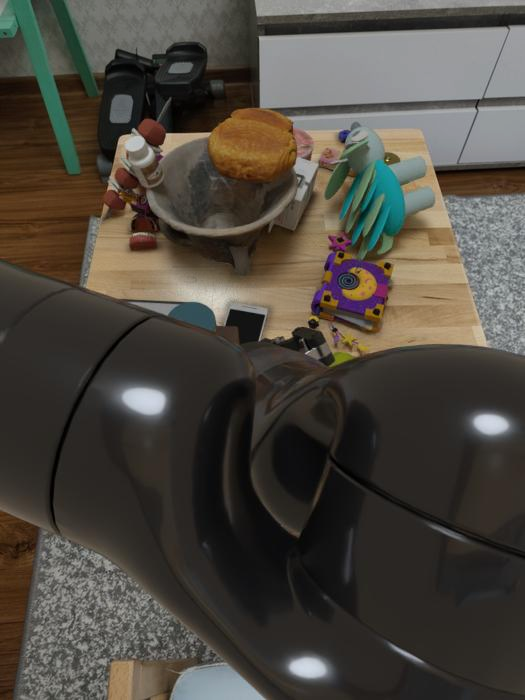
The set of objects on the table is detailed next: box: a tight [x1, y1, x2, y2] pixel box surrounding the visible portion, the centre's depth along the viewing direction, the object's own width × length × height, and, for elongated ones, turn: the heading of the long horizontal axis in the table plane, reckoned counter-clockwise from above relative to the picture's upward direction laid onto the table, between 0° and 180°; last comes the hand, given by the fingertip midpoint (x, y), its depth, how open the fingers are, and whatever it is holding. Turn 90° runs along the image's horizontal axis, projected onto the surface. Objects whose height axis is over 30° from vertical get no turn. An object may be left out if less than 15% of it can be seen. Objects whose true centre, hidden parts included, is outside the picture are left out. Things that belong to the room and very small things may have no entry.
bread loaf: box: [207, 107, 297, 183], centre depth 82 cm, size 14×16×8 cm
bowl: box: [145, 136, 298, 278], centre depth 90 cm, size 27×26×15 cm
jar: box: [168, 301, 218, 333], centre depth 62 cm, size 6×6×8 cm
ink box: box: [267, 157, 320, 234], centre depth 97 cm, size 9×5×15 cm
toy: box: [317, 147, 357, 178], centre depth 107 cm, size 12×2×5 cm
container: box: [293, 127, 315, 161], centre depth 103 cm, size 10×10×8 cm
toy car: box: [119, 188, 159, 223], centre depth 95 cm, size 6×12×5 cm
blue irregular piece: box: [337, 129, 351, 144], centre depth 112 cm, size 9×5×3 cm, turn 40°
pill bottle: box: [124, 136, 164, 188], centre depth 80 cm, size 4×4×8 cm
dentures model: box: [128, 213, 160, 250], centre depth 95 cm, size 6×4×8 cm
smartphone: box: [223, 301, 269, 345], centre depth 84 cm, size 7×16×1 cm, turn 168°
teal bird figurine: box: [324, 121, 436, 261], centre depth 91 cm, size 14×26×18 cm
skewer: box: [101, 96, 173, 221], centre depth 95 cm, size 5×5×30 cm
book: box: [307, 231, 396, 352], centre depth 84 cm, size 14×25×12 cm, turn 162°
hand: (226, 371), depth 44 cm, fingers open, 8 cm apart
